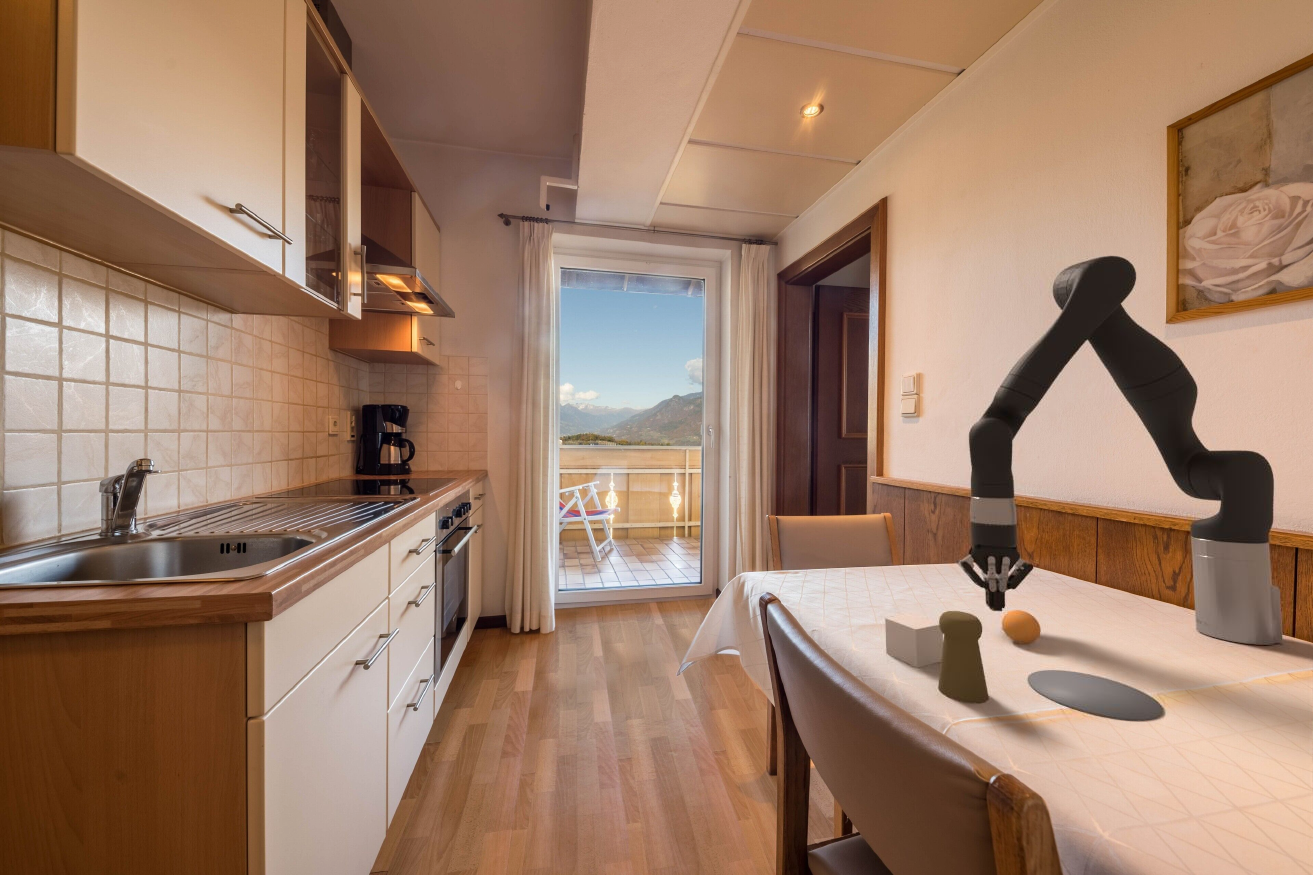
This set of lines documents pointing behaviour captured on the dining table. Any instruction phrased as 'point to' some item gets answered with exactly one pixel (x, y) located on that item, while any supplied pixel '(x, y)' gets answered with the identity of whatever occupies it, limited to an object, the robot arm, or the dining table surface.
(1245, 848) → the dining table surface
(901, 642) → the grey cube
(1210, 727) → the dining table surface
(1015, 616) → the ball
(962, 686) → the cork
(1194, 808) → the dining table surface
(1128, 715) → the disc
